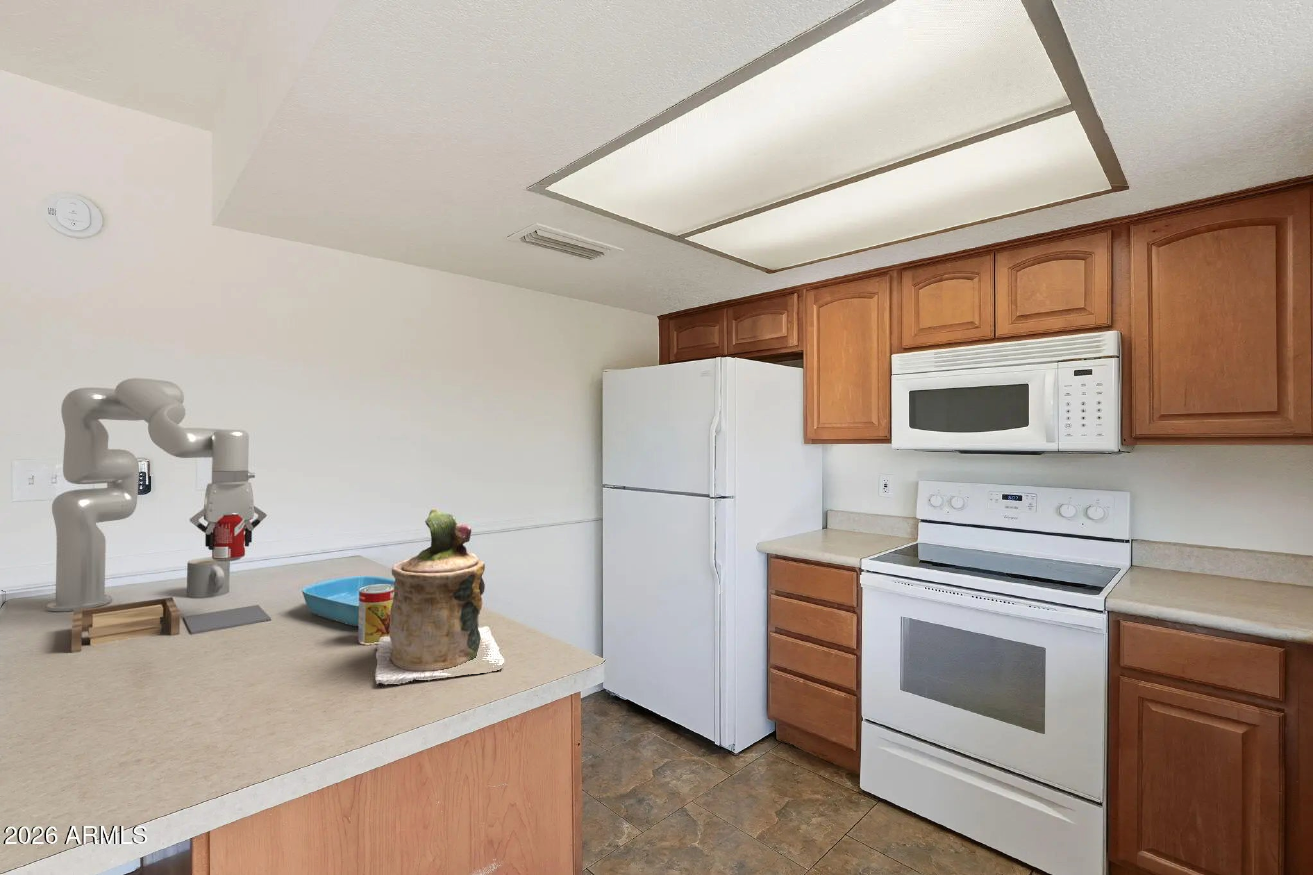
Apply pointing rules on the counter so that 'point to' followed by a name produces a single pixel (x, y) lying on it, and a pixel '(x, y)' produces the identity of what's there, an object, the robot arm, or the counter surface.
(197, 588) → the coffee mug
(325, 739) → the counter surface
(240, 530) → the soda can
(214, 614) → the rubber mat
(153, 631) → the offcut stack
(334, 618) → the casserole dish
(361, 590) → the canned food
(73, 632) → the frame
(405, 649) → the cookie jar
